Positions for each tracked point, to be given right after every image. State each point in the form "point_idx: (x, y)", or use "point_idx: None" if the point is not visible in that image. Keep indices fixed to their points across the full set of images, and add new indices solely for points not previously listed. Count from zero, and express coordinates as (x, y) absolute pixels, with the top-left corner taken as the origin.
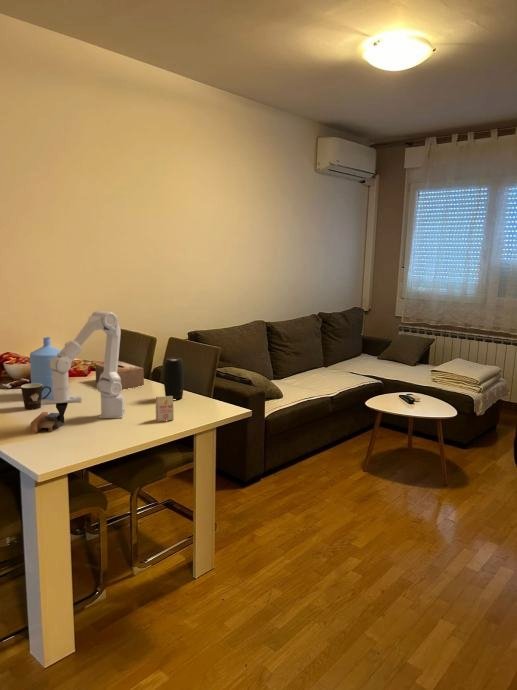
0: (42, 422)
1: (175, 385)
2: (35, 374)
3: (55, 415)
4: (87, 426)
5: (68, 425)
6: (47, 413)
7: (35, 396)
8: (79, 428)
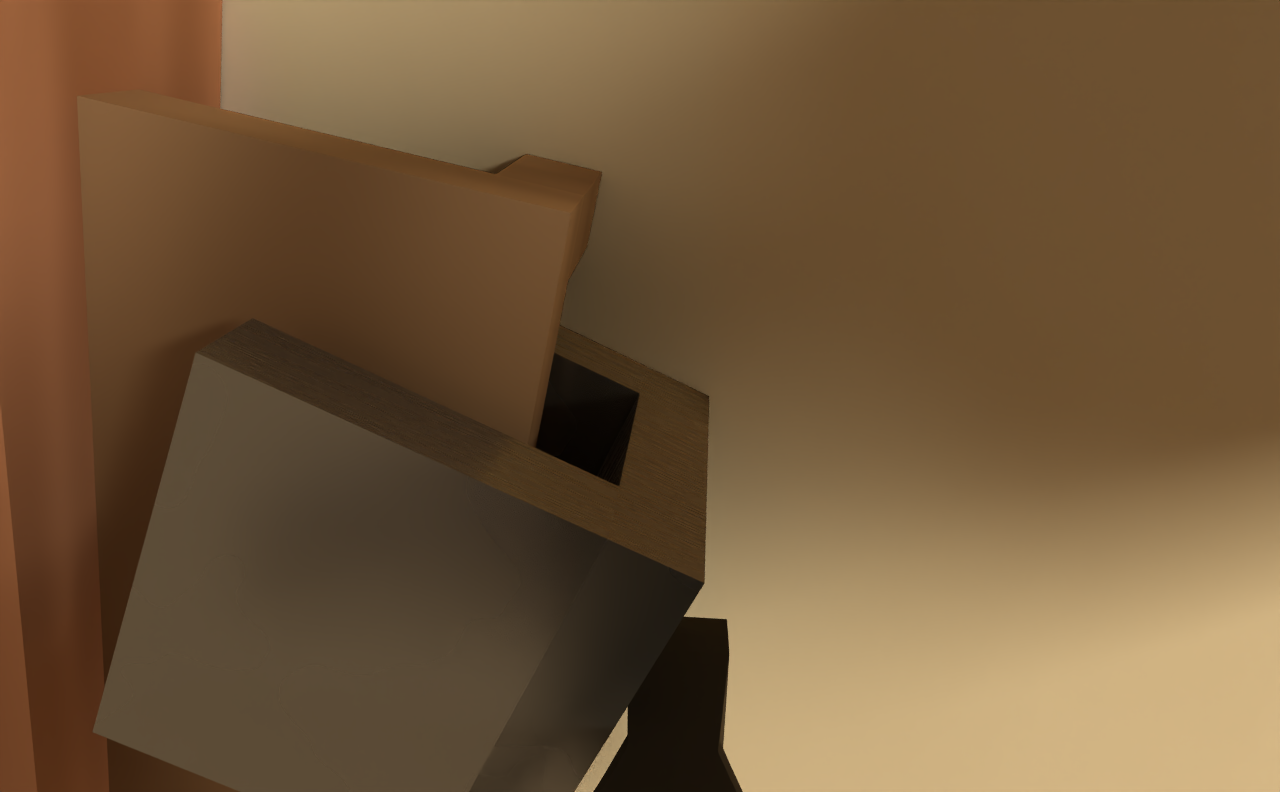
0: None
1: None
2: None
3: (436, 758)
4: (1248, 710)
5: (818, 517)
6: (9, 22)
7: None
8: (1039, 780)
